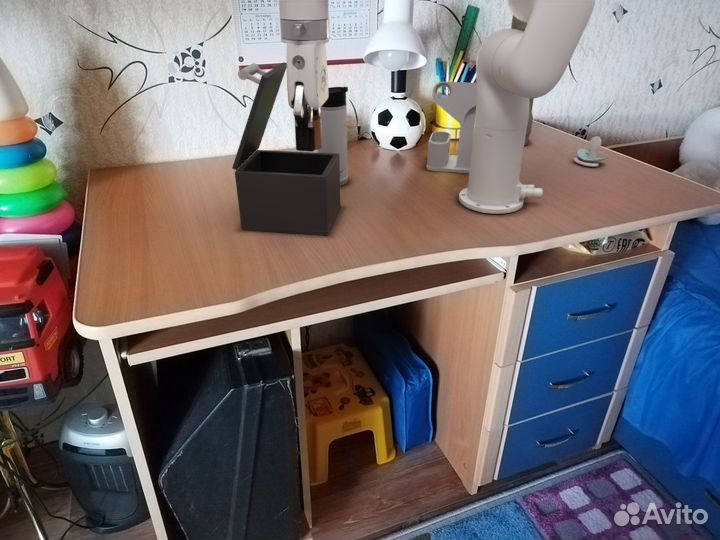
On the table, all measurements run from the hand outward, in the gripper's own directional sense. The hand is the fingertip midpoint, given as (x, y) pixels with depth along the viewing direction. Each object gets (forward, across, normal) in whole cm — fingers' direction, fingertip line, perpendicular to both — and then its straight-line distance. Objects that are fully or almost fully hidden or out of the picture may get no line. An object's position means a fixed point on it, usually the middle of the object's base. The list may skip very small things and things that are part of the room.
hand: (309, 144), depth 93 cm
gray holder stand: (+14, +34, -28) cm, 47 cm away
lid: (-4, 0, +8) cm, 9 cm away
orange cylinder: (0, 0, 0) cm, 0 cm away
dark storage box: (+14, 0, +4) cm, 15 cm away
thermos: (+13, +55, -41) cm, 70 cm away
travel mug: (+14, +20, 0) cm, 24 cm away
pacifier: (+14, +40, -58) cm, 72 cm away
